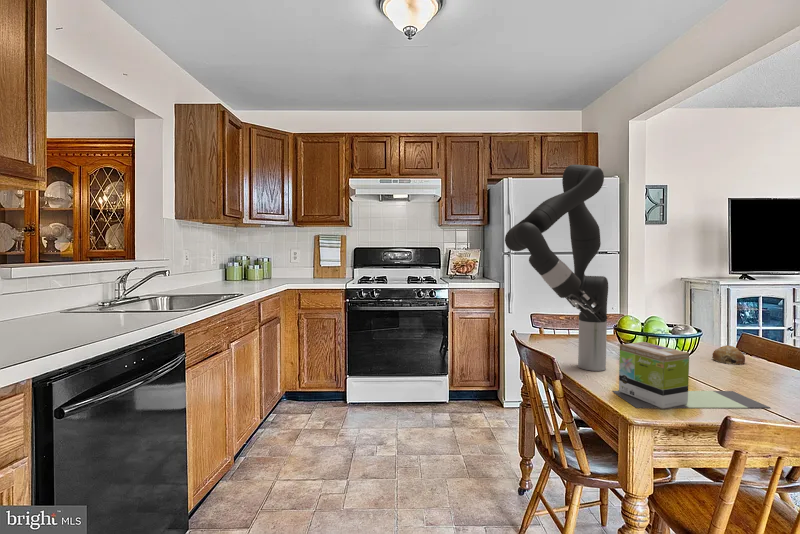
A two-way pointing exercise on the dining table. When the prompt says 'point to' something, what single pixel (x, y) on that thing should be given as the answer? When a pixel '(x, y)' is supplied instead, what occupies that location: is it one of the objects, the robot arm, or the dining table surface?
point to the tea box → (654, 374)
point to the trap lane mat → (703, 400)
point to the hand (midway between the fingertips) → (597, 318)
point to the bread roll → (728, 355)
